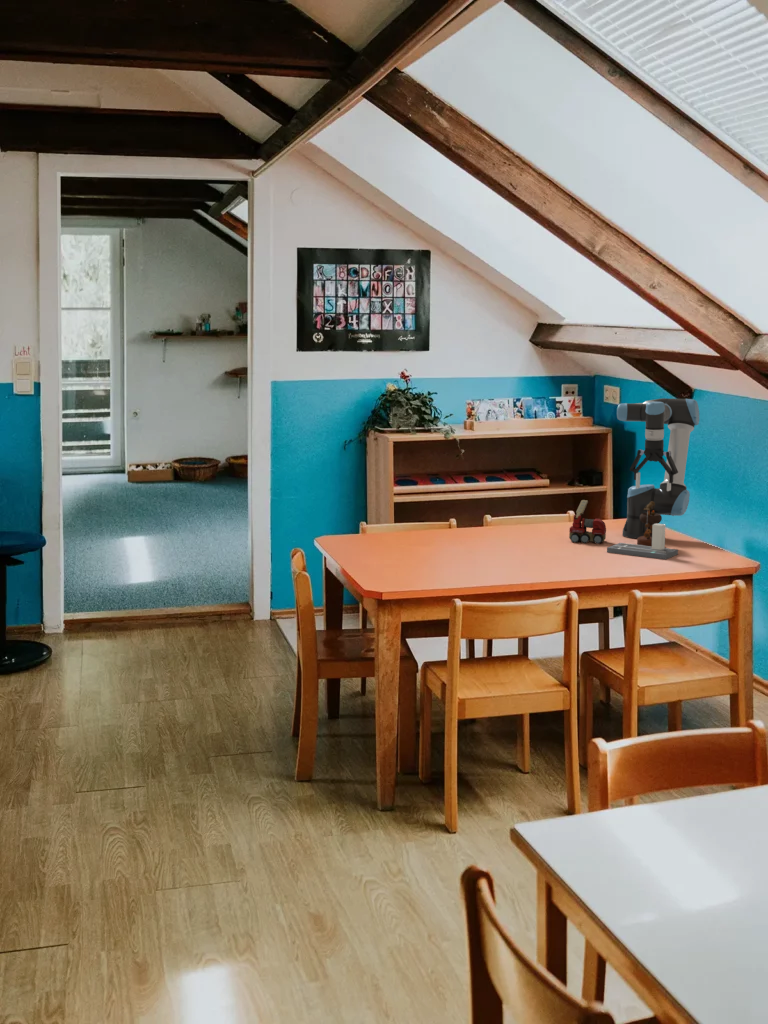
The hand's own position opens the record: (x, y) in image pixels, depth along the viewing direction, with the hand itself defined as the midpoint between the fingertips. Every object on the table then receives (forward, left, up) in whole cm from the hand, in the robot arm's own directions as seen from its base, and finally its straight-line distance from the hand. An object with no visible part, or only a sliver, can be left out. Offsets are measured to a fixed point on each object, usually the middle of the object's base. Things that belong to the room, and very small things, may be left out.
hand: (653, 489), depth 467 cm
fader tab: (+7, +6, -24) cm, 26 cm away
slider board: (+7, -1, -26) cm, 27 cm away
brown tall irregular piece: (-10, -5, -27) cm, 29 cm away
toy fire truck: (-5, -32, -27) cm, 42 cm away
